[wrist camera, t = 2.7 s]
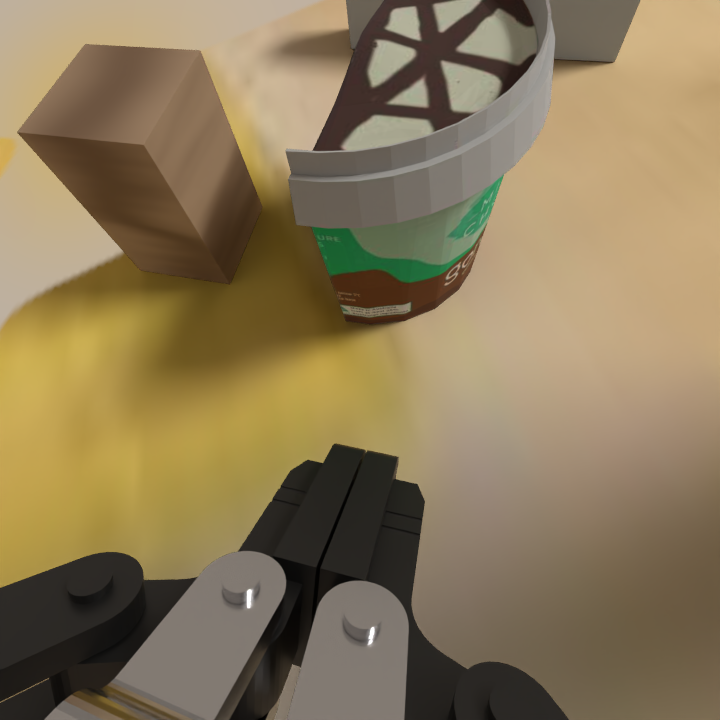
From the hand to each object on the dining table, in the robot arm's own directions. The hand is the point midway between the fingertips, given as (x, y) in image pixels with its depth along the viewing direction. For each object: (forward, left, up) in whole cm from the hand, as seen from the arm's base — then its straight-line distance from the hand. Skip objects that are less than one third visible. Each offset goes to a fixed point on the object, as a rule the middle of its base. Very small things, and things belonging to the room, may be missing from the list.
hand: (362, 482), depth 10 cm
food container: (0, -12, -7) cm, 14 cm away
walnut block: (+12, -11, -7) cm, 18 cm away
